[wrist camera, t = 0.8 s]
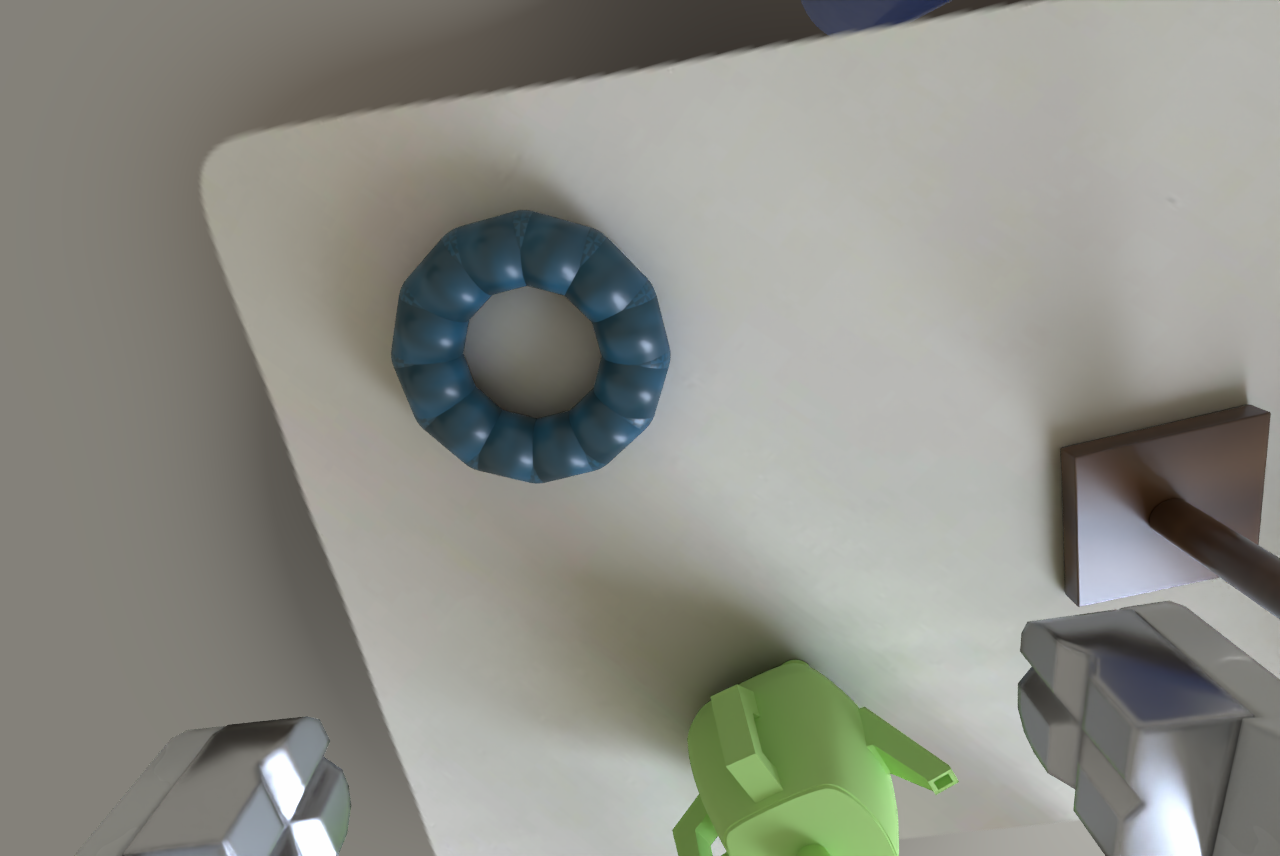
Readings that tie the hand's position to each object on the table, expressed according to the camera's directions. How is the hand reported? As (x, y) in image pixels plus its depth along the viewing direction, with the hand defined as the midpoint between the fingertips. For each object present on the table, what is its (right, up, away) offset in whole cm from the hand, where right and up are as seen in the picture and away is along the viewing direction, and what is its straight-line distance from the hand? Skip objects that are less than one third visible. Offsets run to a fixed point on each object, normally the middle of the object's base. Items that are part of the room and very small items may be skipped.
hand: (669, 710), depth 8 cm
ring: (-5, +6, +22) cm, 23 cm away
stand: (+26, -1, +26) cm, 37 cm away
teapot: (+8, -14, +32) cm, 35 cm away
